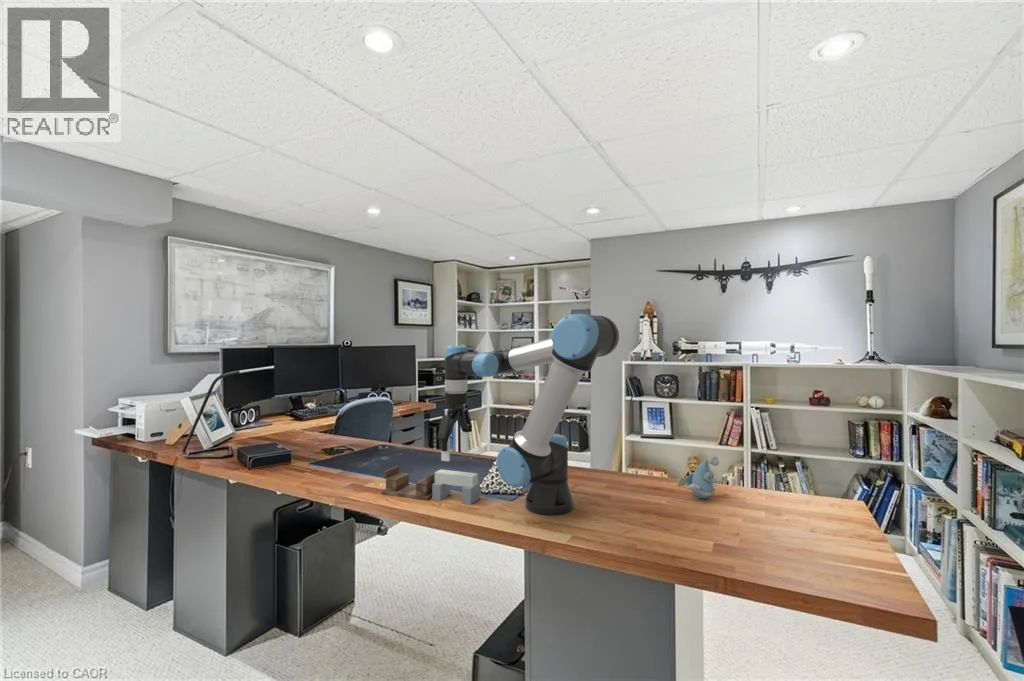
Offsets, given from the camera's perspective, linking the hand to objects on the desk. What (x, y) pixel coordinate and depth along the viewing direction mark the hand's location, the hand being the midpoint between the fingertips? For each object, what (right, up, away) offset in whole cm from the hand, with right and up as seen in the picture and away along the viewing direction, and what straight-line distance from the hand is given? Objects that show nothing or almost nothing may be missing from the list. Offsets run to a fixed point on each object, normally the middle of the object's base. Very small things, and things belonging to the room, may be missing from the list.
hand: (455, 455), depth 156 cm
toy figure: (+83, -15, +1) cm, 84 cm away
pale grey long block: (0, -9, 0) cm, 9 cm away
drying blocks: (0, -14, 0) cm, 14 cm away
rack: (-16, -14, +6) cm, 22 cm away
